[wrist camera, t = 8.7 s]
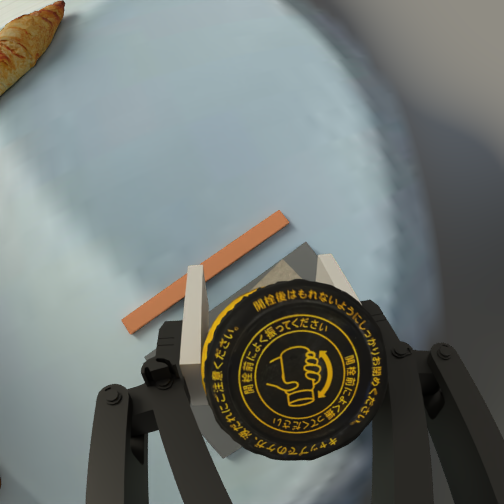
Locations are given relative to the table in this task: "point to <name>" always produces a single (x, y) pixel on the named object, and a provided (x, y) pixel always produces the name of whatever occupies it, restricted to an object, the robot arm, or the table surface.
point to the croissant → (26, 42)
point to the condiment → (294, 367)
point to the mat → (298, 260)
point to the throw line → (205, 271)
